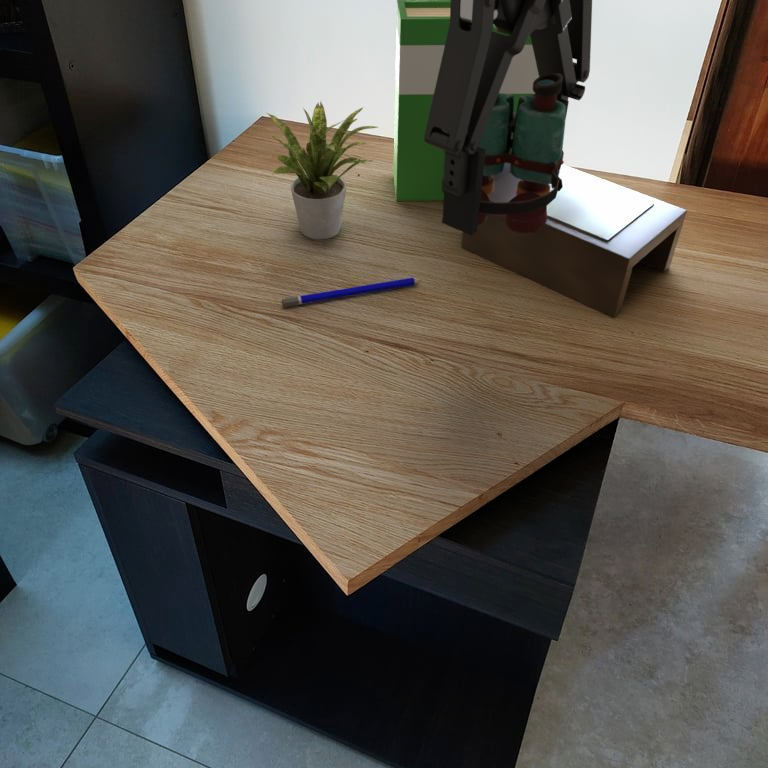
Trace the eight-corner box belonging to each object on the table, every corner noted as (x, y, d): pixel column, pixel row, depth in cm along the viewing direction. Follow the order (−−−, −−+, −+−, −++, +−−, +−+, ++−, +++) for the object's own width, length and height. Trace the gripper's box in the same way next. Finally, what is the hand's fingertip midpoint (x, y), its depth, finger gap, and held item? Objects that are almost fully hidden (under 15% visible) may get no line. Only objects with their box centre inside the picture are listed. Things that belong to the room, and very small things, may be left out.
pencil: (282, 308, 89) (282, 301, 89) (281, 304, 90) (280, 297, 89) (422, 285, 93) (422, 278, 92) (420, 281, 94) (420, 274, 93)
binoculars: (438, 120, 53) (463, 52, 59) (434, 244, 60) (456, 173, 67) (573, 134, 51) (583, 63, 57) (550, 260, 59) (562, 185, 65)
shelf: (669, 267, 97) (692, 194, 90) (613, 318, 89) (633, 243, 82) (522, 206, 108) (532, 137, 101) (461, 247, 100) (467, 175, 93)
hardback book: (513, 174, 114) (536, -1, 98) (522, 199, 109) (548, 18, 93) (393, 175, 114) (397, -1, 97) (396, 201, 108) (400, 19, 92)
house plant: (399, 247, 99) (403, 124, 88) (298, 273, 95) (288, 147, 84) (354, 196, 109) (352, 80, 98) (260, 217, 104) (247, 98, 93)
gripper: (584, -162, 55) (539, 138, 70) (368, -115, 42) (369, 241, 57) (685, -149, 51) (614, 164, 66) (482, -93, 38) (451, 280, 53)
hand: (501, 200), depth 61 cm, fingers closed on binoculars, 10 cm apart
